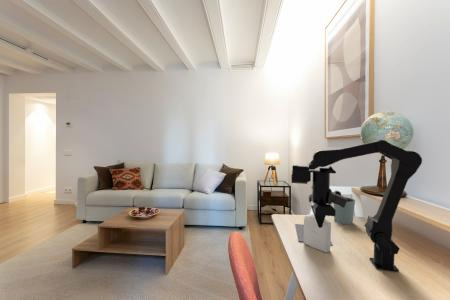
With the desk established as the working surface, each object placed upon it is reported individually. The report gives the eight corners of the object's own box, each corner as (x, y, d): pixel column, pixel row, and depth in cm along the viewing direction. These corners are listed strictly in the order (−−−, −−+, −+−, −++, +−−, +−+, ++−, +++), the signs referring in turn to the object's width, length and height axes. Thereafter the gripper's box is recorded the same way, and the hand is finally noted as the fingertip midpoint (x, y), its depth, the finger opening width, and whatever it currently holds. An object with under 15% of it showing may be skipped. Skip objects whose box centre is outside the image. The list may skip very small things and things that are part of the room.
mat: (332, 245, 89) (332, 244, 89) (298, 241, 93) (298, 241, 93) (323, 227, 109) (323, 226, 109) (295, 224, 112) (295, 223, 112)
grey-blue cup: (351, 219, 120) (351, 197, 120) (357, 226, 111) (358, 202, 110) (330, 217, 123) (331, 196, 122) (334, 224, 113) (335, 200, 113)
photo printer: (301, 243, 91) (302, 213, 90) (307, 239, 93) (308, 211, 92) (326, 254, 83) (327, 221, 82) (332, 250, 86) (333, 218, 84)
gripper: (353, 191, 70) (352, 240, 71) (338, 181, 88) (337, 220, 89) (315, 189, 73) (314, 236, 74) (308, 180, 91) (308, 218, 92)
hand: (320, 227), depth 82 cm, fingers closed
